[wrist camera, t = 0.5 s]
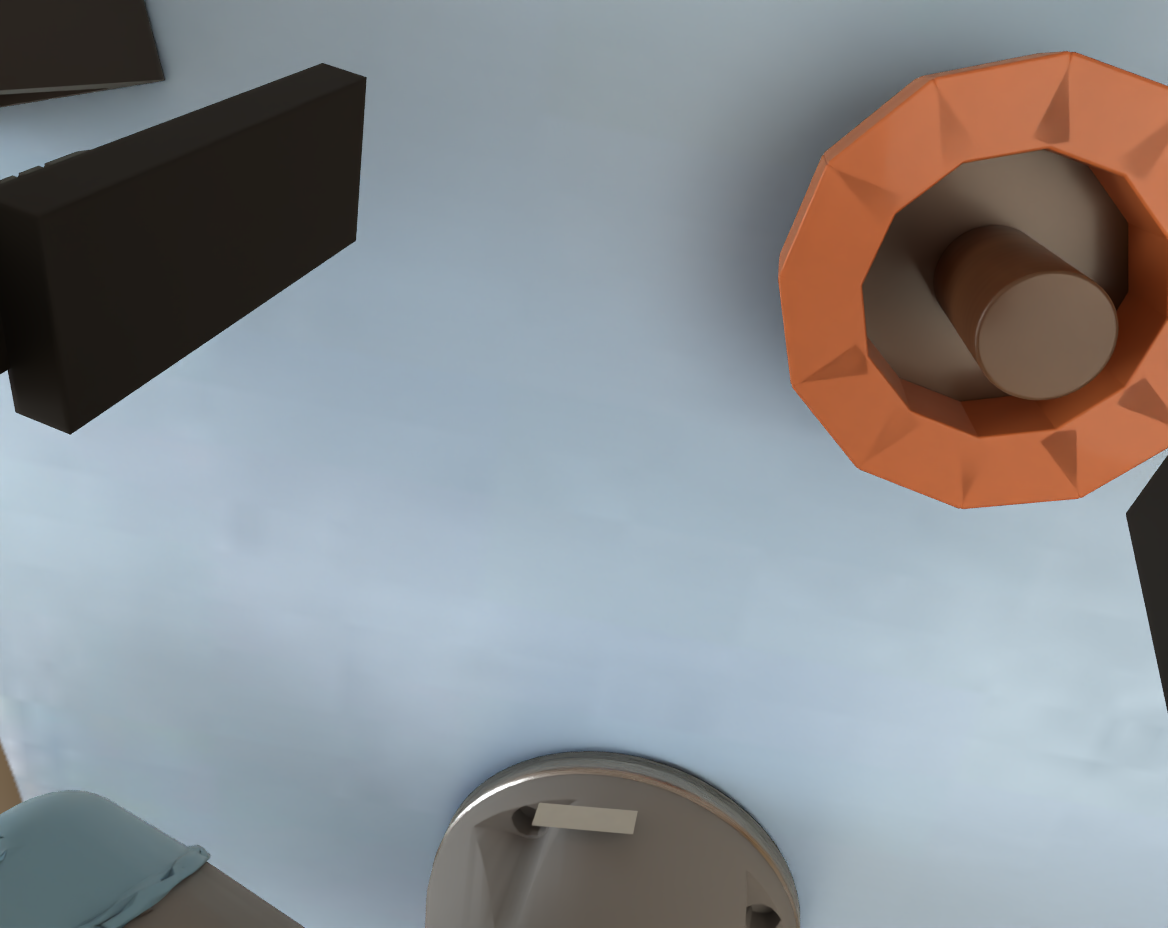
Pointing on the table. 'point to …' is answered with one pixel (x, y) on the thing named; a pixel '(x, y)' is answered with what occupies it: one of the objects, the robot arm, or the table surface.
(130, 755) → the table surface
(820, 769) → the table surface
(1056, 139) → the ring
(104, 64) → the phone stand
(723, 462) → the table surface
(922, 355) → the walnut peg
